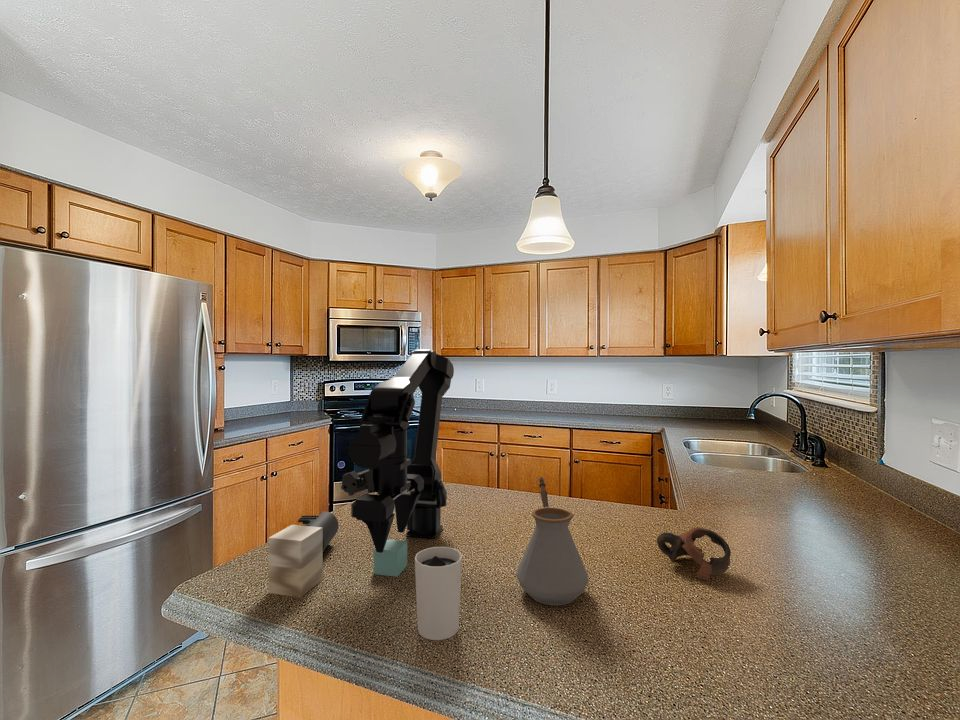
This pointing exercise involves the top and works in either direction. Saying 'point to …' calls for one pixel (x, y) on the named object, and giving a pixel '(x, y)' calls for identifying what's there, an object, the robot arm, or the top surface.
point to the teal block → (391, 558)
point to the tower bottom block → (295, 578)
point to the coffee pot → (552, 558)
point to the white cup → (438, 592)
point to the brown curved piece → (696, 550)
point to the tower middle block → (295, 546)
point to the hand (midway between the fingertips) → (391, 541)
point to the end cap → (323, 525)
